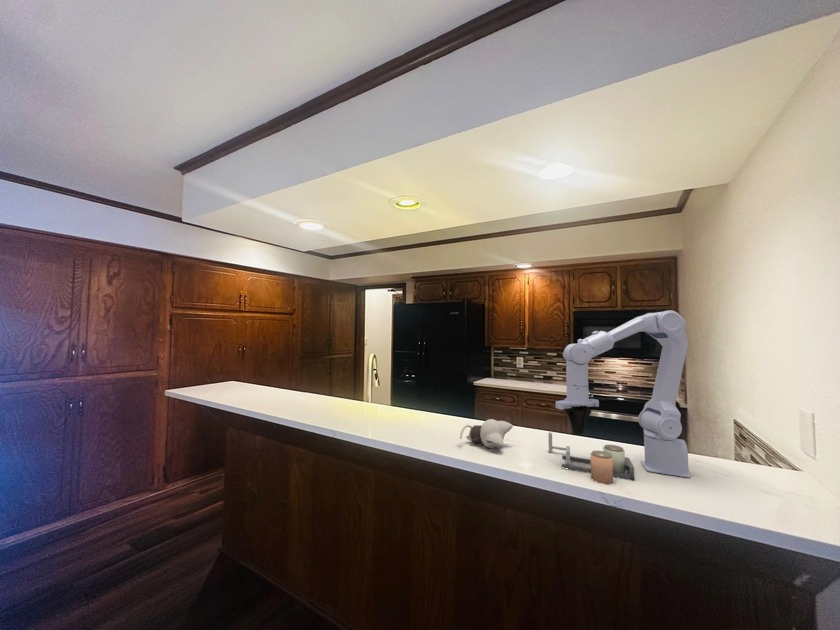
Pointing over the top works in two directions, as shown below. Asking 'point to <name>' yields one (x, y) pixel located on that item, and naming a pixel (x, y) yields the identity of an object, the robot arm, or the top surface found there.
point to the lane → (628, 468)
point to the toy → (488, 433)
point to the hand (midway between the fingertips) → (578, 433)
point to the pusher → (559, 448)
